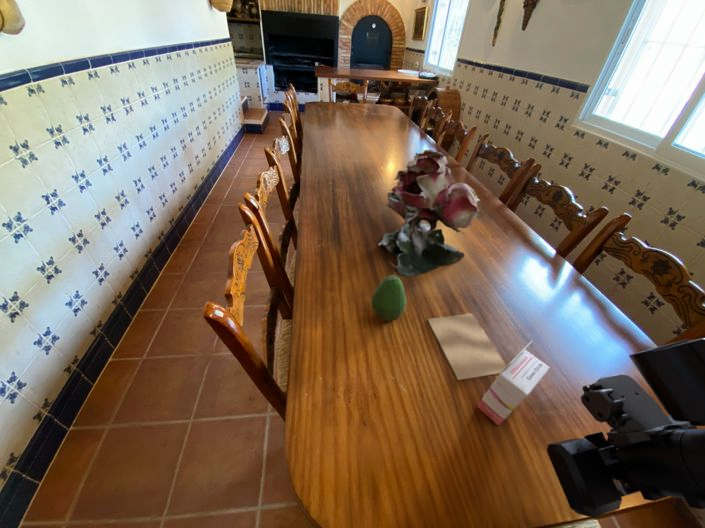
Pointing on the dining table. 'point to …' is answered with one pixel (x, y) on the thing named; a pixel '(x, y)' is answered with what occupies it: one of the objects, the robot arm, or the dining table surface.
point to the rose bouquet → (428, 214)
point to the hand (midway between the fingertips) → (574, 456)
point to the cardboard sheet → (466, 347)
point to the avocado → (389, 299)
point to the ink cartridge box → (512, 386)
